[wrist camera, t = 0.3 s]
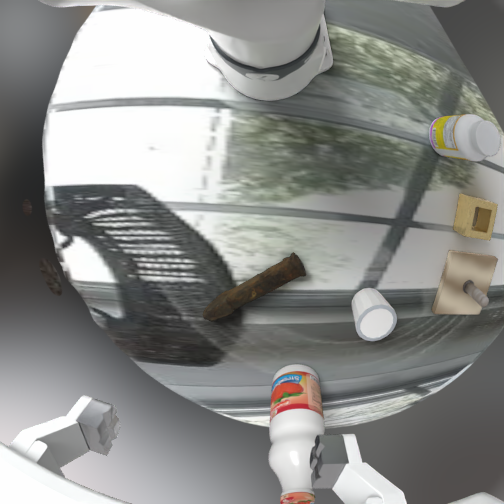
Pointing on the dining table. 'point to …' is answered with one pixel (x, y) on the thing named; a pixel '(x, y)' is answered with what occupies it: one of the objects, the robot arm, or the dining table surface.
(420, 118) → the dining table surface
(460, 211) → the tan square frame block
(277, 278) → the hand tool
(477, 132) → the supplement bottle
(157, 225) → the dining table surface
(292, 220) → the dining table surface
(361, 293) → the shot glass
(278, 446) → the fruit juice
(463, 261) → the post stand
